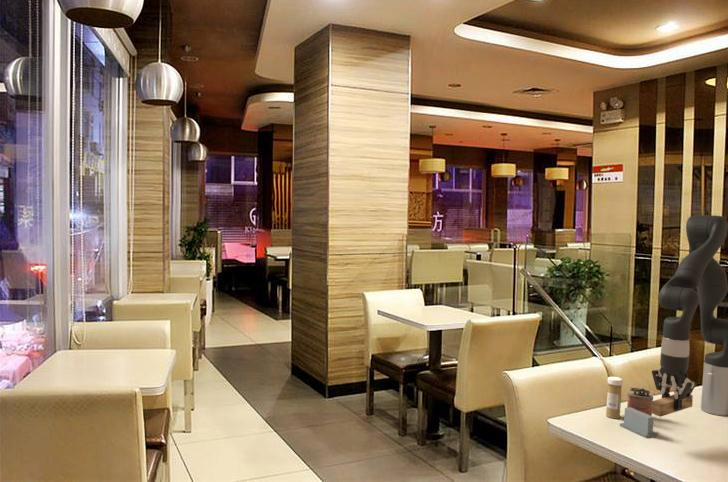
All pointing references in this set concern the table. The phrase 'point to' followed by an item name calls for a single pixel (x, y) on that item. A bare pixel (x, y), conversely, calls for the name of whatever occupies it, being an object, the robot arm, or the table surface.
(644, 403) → the lighter
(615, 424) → the table surface
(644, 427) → the fulcrum
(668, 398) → the walnut bar
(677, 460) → the table surface
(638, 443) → the table surface
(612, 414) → the sprinkles bottle
